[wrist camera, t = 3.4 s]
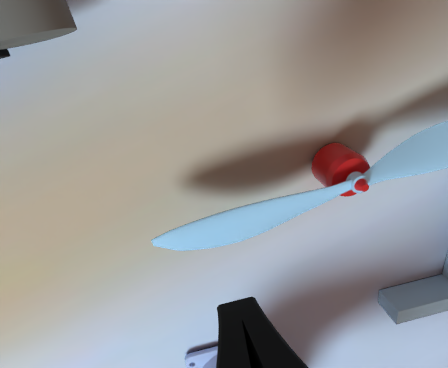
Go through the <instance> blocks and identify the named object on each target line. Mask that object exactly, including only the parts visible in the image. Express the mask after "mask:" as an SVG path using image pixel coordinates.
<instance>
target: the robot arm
mask: <svg viewBox="0 0 448 368" xmlns="http://www.w3.org/2000/svg"><path fill="white" fill-rule="evenodd" d="M217 311H218V322H219V335H218V346H216V347H212V348H208V349H204V350H200V351H196V352H193V353H189V354H187V355H186V356H185V363H186V366H187V368H308V367H307V366H306V365H305V363H304V362H303V361H302V360H301V359H300V358H299V357H298V356H297V355H296V353H295V352H294V351H293V350H292V349H291V348H290V346H289V345H288V344H287V343H286V342H285V340H284V339H283V338H282V337H281V335H280V334H279V333H278V332H277V330H276V329H275V328H274V326H273V325H272V324H271V322H270V321H269V319H268V318H267V317H266V315H265V314H264V312H263V311H262V309H261V308H260V306H259V304H258V303H257V301H256V299H255V298H254V297H248V298H245V299H241V300H237V301H233V302H229V303H225V304H221V305H219V306H218V307H217Z"/></svg>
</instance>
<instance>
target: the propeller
mask: <svg viewBox="0 0 448 368" xmlns="http://www.w3.org/2000/svg"><path fill="white" fill-rule="evenodd" d="M446 168H448V121H445V122H442V123H440V124H437V125H434V126H432V127H430V128H427V129H425V130H423V131H421V132H419V133H417V134H415V135H413V136H412V137H410V138H409V139H407V140H406V141H404V142H403V143H401V144H400V145H398V146H397V147H396V148H394V149H393V150H391V151H390V152H389V153H387V154H386V155H385V156H384V157H383V158H381V159H380V160H379V161H378V162H376V163H375V164H374V165H373V166H372V167H371V168H370V166H369V164H368V162H367V160H366V159H365V158H364V157H363V156H362V155H360V154H359V153H357V152H355V151H354V150H352V149H350V148H348V147H347V146H345V145H343V144H341V143H331V144H328V145H326V146H324V147H322V148H321V149H320V150H319V151H318V152H317V153H316V155H315V157H314V159H313V161H312V173H313V175H314V176H315V178H316V179H317V180H319V181H320V182H321V183H322V184H323V185H324V186H325V188H321V189H316V190H312V191H307V192H302V193H297V194H293V195H288V196H283V197H279V198H274V199H270V200H265V201H261V202H257V203H253V204H249V205H245V206H241V207H238V208H234V209H231V210H227V211H224V212H221V213H217V214H214V215H211V216H208V217H205V218H202V219H200V220H197V221H194V222H191V223H188V224H185V225H183V226H180V227H178V228H175V229H173V230H170V231H168V232H166V233H164V234H162V235H160V236H158V237H156V238H154V239H152V240H151V241H152V243H153V245H154V246H157V247H162V248H167V249H172V250H179V251H185V250H198V249H207V248H214V247H220V246H224V245H229V244H233V243H236V242H240V241H243V240H246V239H249V238H251V237H254V236H256V235H259V234H261V233H263V232H266V231H268V230H270V229H272V228H274V227H276V226H278V225H280V224H282V223H284V222H286V221H288V220H290V219H292V218H294V217H296V216H298V215H300V214H302V213H304V212H306V211H308V210H310V209H312V208H315V207H317V206H319V205H321V204H323V203H325V202H327V201H329V200H331V199H333V198H335V197H337V196H339V195H340V196H352V195H355V194H357V193H362V192H365V191H367V190H368V188H369V185H372V184H374V183H377V182H381V181H384V180H389V179H395V178H401V177H408V176H413V175H419V174H424V173H428V172H433V171H437V170H441V169H446Z"/></svg>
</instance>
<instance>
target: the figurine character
mask: <svg viewBox="0 0 448 368" xmlns="http://www.w3.org/2000/svg"><path fill="white" fill-rule="evenodd" d="M76 30H77V27H76V25H75V22H74V20H73V17H72V15H71V12H70V10H69V7H68V4H67V2H66V0H0V59H1V58H5V57H9V56H10V54H9V52H8V50H7V49H8V48H13V47H19V46H24V45H28V44H33V43H37V42H41V41H45V40H49V39H53V38H56V37H60V36H63V35H66V34H69V33H71V32H74V31H76Z"/></svg>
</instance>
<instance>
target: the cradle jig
mask: <svg viewBox="0 0 448 368" xmlns="http://www.w3.org/2000/svg"><path fill="white" fill-rule="evenodd" d="M378 303H379V304H380V305H381V307H382V308H383V309H384V310H385V311H386V313H387V314H388V315H389V316H390V317H391V319H392V320H393V321H394V322H395V324H400V323H403V322H407V321H411V320H414V319H418V318H422V317H426V316H429V315H433V314H437V313H441V312H444V311H448V251H447V256H446V260H445V264H444V268H443V273H442V274H441V275H437V276H433V277H429V278H425V279H421V280H417V281H413V282H410V283H406V284H402V285H398V286H394V287H390V288H386V289H382V290H379V298H378Z"/></svg>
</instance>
